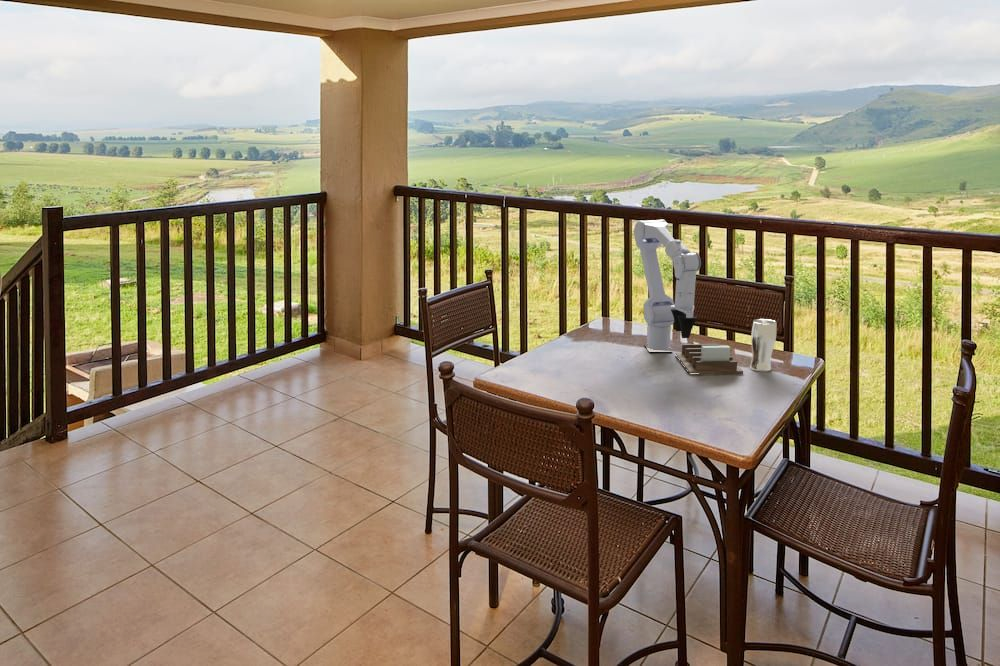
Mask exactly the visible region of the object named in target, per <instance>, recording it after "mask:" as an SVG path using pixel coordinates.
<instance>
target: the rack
mask: <svg viewBox="0 0 1000 666" xmlns="http://www.w3.org/2000/svg"><path fill="white" fill-rule="evenodd" d="M701 346H721V344H720V343H692V344H691V343H685V344H684V343H682V344H681V352H675V354H676V355H677V357H678V358H679V359H680V361H681V362H682V364H683V365H684V366H685V368H686V369H687V370H688V372H689V373H699V374H713V375H744V370H743V369H742V368H741V367H740V366H739V365H738V360H733V359H734V356H731V355H730V357H729V361H700V360H701ZM682 364H681V365H682ZM685 368H684V369H685ZM686 369H685V370H686ZM688 372H687V373H688ZM689 373H688V374H689Z"/></svg>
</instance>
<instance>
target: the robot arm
mask: <svg viewBox="0 0 1000 666" xmlns="http://www.w3.org/2000/svg"><path fill="white" fill-rule="evenodd" d="M633 236H634V241H635V246H636V248H637V249H639V250H640V251H639V252H640V255H641V260H642V264H643V269H644V275H645V280H646V285H647V286H646V287H647V290H648V295H649V297H648V298H647V299H646V300H645V301H644V303H643V305H642V306H643V318H644V320H645V322H646V324H648V326H647V332H646V343H647V344H648V348H650V349H653V350H668V349H669V348H671V347H670V346H671V333H672V332H671V331H672V325H674V327H675V331H676V332H680V333H681V334H680V336H681V338H682V339H690V336H691V334H692V330H693V327H694V325H695V323H696V322H697V320H698V317H697V316H694V310H695V297H696V296H695V294H696V280H697V272H698V271H700V269H701V265H702V261H701V257H700V255H699V253H698V252H697V251H690V249H688V247H687V246H686V245H685V244H684V243H683V242H682V240H681V239H674V237H673V236H672V234H671V232H669V224H668V222H667V221H666V220H665V219H662V218H661V219H656V220H655V219H654V220H653V219H652V220H650V219H649V220H637V221H636V223H635V225H634V229H633ZM662 245H663V247H665V248H664V252H665V254H666V256H668V257H669V259H670V260H671V261H672V262H673V269H674V277H675V278H676V281H675V292H674V293H675V295H674V299H673V298H672V297H671V296H669V295H668V294H666V292H665V287H664V283H663V278H662V273H661V268H660V264H659V263H660V262H659V259H658V253H657V249H658V248H660V247H661V246H662Z"/></svg>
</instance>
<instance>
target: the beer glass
mask: <svg viewBox="0 0 1000 666" xmlns="http://www.w3.org/2000/svg"><path fill="white" fill-rule="evenodd" d="M777 323H778V322H777V321H776V320H774V319H773V320H772V319H770V318H769V319H768V318H758V319H757V318H756V319H753V323H752V328H751V335H750V337H751V338H750V339H751V340H750V341H751V342H750V343H751V353H752V355H751V361H750V365H749V368H750V370H752V371H756V372H761V373H762V372H763V373H767V372H770V371H771V370H772V364H771V358H772V354H773V351H774V348H775V345H776V340H777Z"/></svg>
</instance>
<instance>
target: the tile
mask: <svg viewBox="0 0 1000 666" xmlns="http://www.w3.org/2000/svg"><path fill="white" fill-rule="evenodd" d="M730 353H731V346H729V345H720V346H701V360H700V361H729V357H730V356H731V355H730Z"/></svg>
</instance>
